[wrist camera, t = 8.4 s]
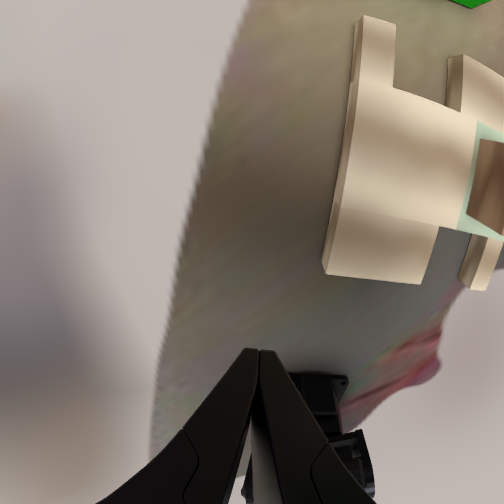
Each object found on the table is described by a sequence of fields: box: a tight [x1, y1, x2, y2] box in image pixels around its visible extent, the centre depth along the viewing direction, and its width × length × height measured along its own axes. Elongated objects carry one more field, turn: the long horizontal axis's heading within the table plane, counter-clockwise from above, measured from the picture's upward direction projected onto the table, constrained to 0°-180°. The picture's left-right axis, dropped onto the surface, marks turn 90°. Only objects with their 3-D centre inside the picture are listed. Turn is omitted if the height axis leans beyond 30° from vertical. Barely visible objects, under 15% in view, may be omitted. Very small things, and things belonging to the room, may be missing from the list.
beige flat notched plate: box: [321, 15, 504, 291], centre depth 15 cm, size 16×14×2 cm
